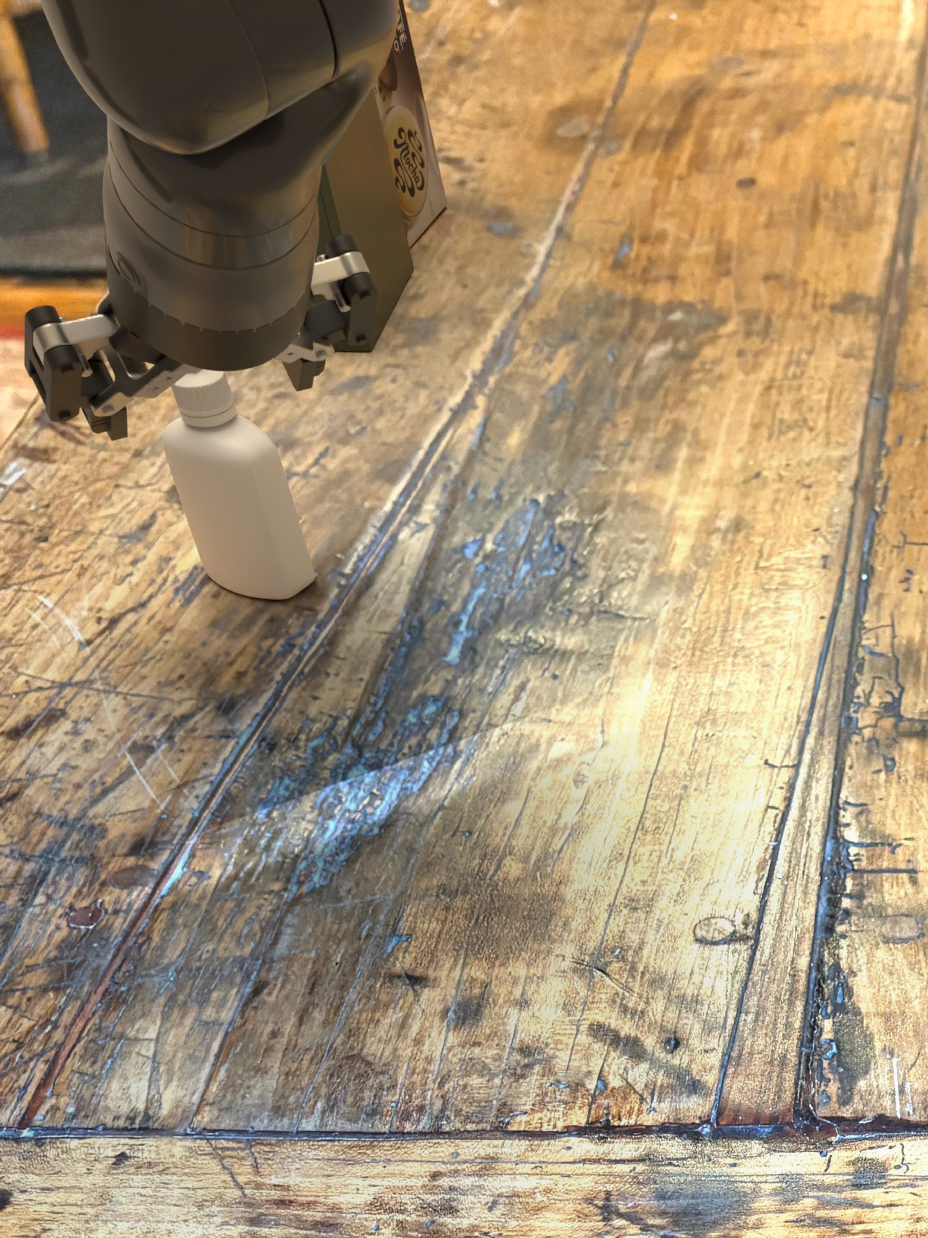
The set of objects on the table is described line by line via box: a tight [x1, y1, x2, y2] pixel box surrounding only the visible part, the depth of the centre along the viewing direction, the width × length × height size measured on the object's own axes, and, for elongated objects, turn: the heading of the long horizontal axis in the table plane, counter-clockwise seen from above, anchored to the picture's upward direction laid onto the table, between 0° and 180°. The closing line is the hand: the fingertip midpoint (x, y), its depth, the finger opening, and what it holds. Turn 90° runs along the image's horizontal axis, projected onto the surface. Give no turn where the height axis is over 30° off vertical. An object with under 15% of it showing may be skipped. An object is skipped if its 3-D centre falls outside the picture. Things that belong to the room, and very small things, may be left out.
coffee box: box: [373, 0, 448, 249], centre depth 120 cm, size 9×6×16 cm
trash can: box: [313, 88, 415, 353], centre depth 115 cm, size 11×11×11 cm
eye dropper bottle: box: [161, 369, 316, 600], centre depth 94 cm, size 4×6×12 cm
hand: (202, 394), depth 91 cm, fingers open, 8 cm apart
